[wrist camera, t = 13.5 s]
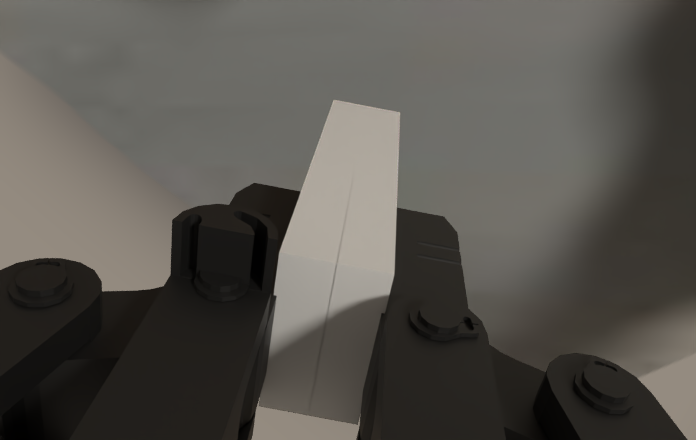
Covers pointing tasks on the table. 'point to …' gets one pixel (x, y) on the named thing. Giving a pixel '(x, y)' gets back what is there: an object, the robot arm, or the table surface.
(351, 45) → the table surface
